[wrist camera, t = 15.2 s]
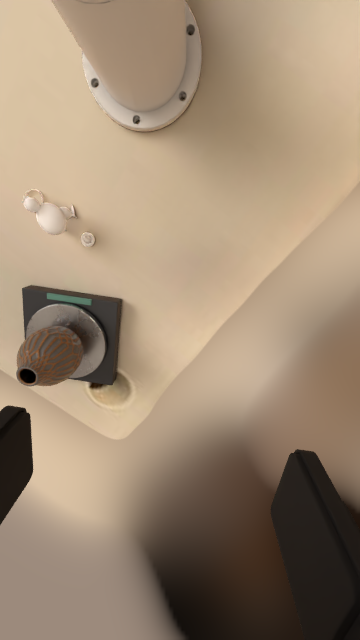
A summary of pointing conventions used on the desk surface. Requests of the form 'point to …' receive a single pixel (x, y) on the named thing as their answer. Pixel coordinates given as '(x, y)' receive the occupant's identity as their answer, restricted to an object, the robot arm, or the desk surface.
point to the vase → (49, 356)
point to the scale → (98, 306)
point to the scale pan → (81, 325)
